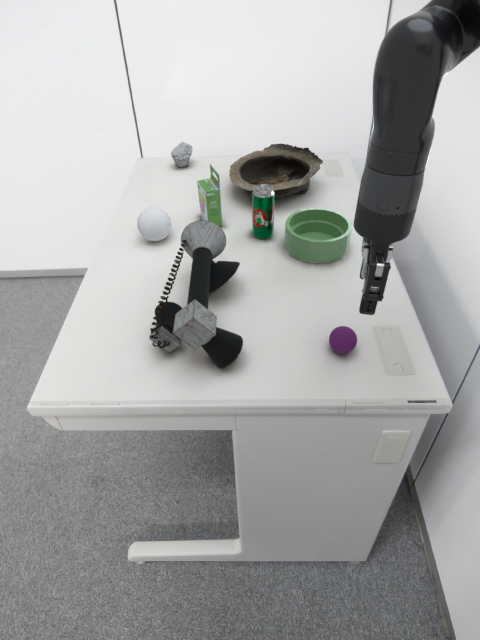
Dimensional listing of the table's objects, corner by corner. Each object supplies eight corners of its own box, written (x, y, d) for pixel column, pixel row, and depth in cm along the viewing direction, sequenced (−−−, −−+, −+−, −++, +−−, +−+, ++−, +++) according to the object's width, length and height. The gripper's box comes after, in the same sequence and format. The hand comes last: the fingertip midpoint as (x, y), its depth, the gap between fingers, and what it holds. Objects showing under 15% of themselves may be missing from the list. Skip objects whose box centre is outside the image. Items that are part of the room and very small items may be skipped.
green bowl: (348, 232, 106) (352, 210, 102) (346, 268, 96) (351, 244, 92) (288, 227, 109) (289, 205, 105) (280, 261, 98) (281, 238, 94)
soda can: (267, 227, 109) (268, 181, 101) (277, 237, 106) (279, 190, 97) (248, 232, 107) (248, 186, 99) (258, 242, 104) (259, 195, 96)
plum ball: (355, 341, 80) (359, 322, 76) (354, 361, 76) (359, 341, 73) (328, 338, 80) (331, 318, 77) (326, 357, 77) (329, 337, 74)
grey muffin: (197, 167, 136) (195, 144, 131) (176, 172, 133) (174, 149, 129) (189, 160, 140) (186, 137, 135) (168, 165, 137) (165, 142, 133)
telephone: (196, 290, 100) (185, 393, 78) (153, 255, 94) (127, 357, 71) (245, 251, 93) (249, 351, 71) (203, 211, 87) (192, 307, 65)
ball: (179, 241, 105) (174, 211, 100) (148, 251, 102) (142, 221, 97) (165, 226, 110) (160, 197, 105) (135, 236, 107) (128, 206, 102)
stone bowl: (332, 180, 126) (335, 149, 119) (293, 226, 112) (295, 194, 105) (257, 162, 136) (256, 132, 129) (212, 202, 121) (209, 171, 115)
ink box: (199, 216, 114) (195, 166, 105) (214, 213, 115) (211, 163, 105) (207, 229, 109) (203, 178, 100) (222, 226, 110) (220, 175, 101)
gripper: (423, 229, 51) (393, 329, 62) (414, 175, 61) (389, 270, 72) (357, 223, 52) (339, 323, 63) (358, 172, 62) (343, 265, 73)
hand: (366, 294), depth 68 cm, fingers open, 8 cm apart
